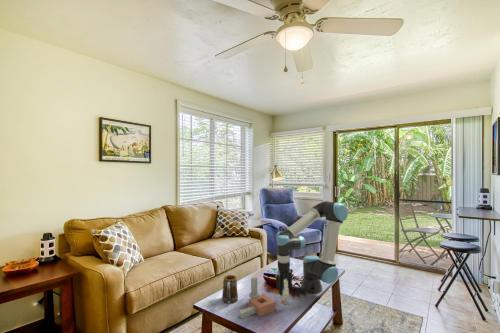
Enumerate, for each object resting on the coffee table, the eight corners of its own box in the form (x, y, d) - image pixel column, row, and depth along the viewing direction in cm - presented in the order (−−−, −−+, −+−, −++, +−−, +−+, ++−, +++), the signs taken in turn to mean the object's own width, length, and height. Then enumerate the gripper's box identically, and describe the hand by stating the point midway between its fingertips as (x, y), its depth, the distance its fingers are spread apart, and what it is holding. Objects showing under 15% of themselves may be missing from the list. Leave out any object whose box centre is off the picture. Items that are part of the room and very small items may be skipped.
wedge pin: (285, 300, 162) (284, 276, 162) (289, 303, 159) (288, 278, 159) (280, 303, 159) (279, 278, 159) (283, 305, 157) (283, 280, 157)
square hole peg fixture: (258, 298, 173) (258, 274, 173) (275, 309, 159) (275, 283, 159) (230, 309, 160) (230, 283, 160) (246, 322, 146) (246, 294, 146)
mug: (223, 295, 177) (223, 274, 177) (238, 296, 176) (238, 274, 177) (219, 308, 161) (219, 284, 161) (236, 308, 161) (236, 284, 161)
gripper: (288, 256, 167) (289, 292, 167) (269, 262, 158) (270, 300, 158) (297, 259, 161) (298, 297, 161) (277, 266, 151) (278, 306, 152)
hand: (284, 298), depth 159 cm, fingers closed on wedge pin, 3 cm apart
